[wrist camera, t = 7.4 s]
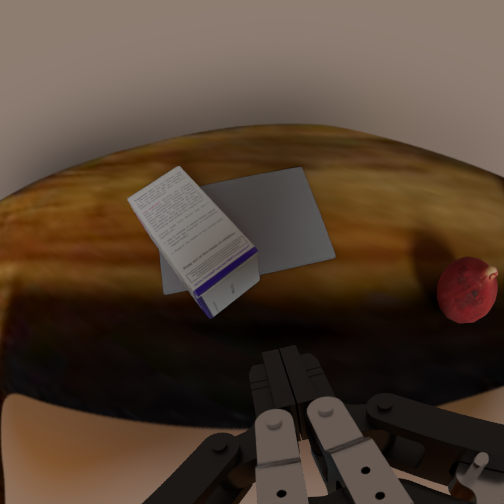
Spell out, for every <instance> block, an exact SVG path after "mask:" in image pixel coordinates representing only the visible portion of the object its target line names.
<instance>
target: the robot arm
mask: <svg viewBox="0 0 504 504" xmlns="http://www.w3.org/2000/svg"><path fill="white" fill-rule="evenodd" d="M279 353H280V354H279ZM262 356H263V361H264V364H260V365H255V366H252V368H251V371H250V373H249V377H250V383H251V389H252V395H253V401H254V406H255V412H256V420H255V423H254V424H253V426H252V427H251V428H250V429H249V430H247V431H246V432H244V433H242V434H240V435H237V436H233V435H232V434H229V433H216V434H213V435H211V436H209V437H208V438H206V439H205V440H204V441H203V442H202V443H201V444H200V445H199V446H198V448H197V449H196V450H195V451H194V452H193V453H192V454H191V455H190V456H189V457H188V458H187V459H186V460H185V461H184V462H183V463H182V465H180V467H179V468H178V469H177V470H176V471H175V472H174V473H173V474H172V475H171V476H170V477H169V478H168V479H167V480H166V481H165V482H164V483H163V484H162V485H161V486H160V487H159V488H158V489H157V490H156V491H155V492H154V493H153V494H152V495H151V496H149V498H147V499H146V500H145V501H144V502H143V503H142V504H239V503H240V501H241V500H242V499H243V497H244V496H245V495H246V494H247V492H248V491H249V489H250V488H251V487H252V484H253V483H254V482H256V490H257V504H504V425H503V424H498V423H494V422H490V421H486V420H482V419H477V418H473V417H470V416H466V415H461V414H458V413H455V412H451V411H447V410H443V409H440V408H437V407H433V406H430V405H426V404H423V403H420V402H416V401H413V400H410V399H407V398H404V397H400V396H397V395H394V394H391V393H381V394H377V395H375V396H373V397H372V398H371V399H370V400H369V401H368V402H367V404H363V405H348V404H345V403H342V402H341V401H340V400H339V399H337V398H336V397H335V395H334V393H333V391H332V389H331V387H330V385H329V383H328V381H327V378H326V376H325V374H324V372H323V370H322V368H321V366H320V364H319V362H318V360H317V358H315V357H314V356H313V355H311V354H310V353H307V354H303V355H299V353H298V350H297V348H296V346H295V345H293V346H289V347H285V348H280V349H279V351H278V349H276V350H272V351H267V352H262ZM300 434H301V437H302V440H306V439H309V442H310V446H311V453H312V456H313V458H314V461H315V463H316V465H317V467H318V469H319V472H320V474H321V476H322V479H323V481H324V483H325V485H326V488H327V491H328V495H326V496H321V497H307V492H306V487H305V480H304V475H303V469H302V464H301V459H300V455H299V454H300V451H299V444H298V441H301V439H300ZM391 467H393V468H395V469H398V470H401V471H404V472H406V473H409V474H412V475H415V476H418V477H420V478H423V479H427V480H429V481H433V482H436V483H439V484H442V485H445V486H448V489H449V493H450V494H451V495H448V494H445V493H442V492H439V491H436V490H433V489H431V488H428V487H426V486H423V485H420V484H418V483H415V482H413V481H410V480H406V479H400V478H397V477H396V475H395V473H394V472H393V470H392V469H391Z"/></svg>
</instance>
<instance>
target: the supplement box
mask: <svg viewBox="0 0 504 504" xmlns="http://www.w3.org/2000/svg"><path fill="white" fill-rule="evenodd" d="M128 201H129V203H130V205H131V207H132V209H133V210H134V212H135V214H136V216H137V217H138V219H139V221H140V222H141V224H142V225H143V227H144V229H145V230H146V232H147V233H148V234H149V236H150V237H151V239H152V240H153V242H154V243H155V245H156V246H157V247H158V249H159V250H160V252H161V253H162V255H163V256H164V257H165V259H166V260H167V262H168V263H169V265H170V266H171V267H172V269H173V270H174V272H175V273H176V275H177V276H178V277H179V279H180V280H181V282H182V283H183V284H184V286H185V287H186V288H187V290H188V291H189V293H190V294H191V295H192V297H193V298H194V299H195V301H196V302H197V303H198V305H199V306H200V307H201V309H202V310H203V311H204V312H205V314H206V315H207V316H208V317H209V318H210V319H211V318H213V317H214V316H215V315H216V314H218V313H219V312H220V311H222V310H223V309H224V308H225V307H227V306H228V305H229V304H230V303H232V302H233V301H234V300H235V299H237V298H238V297H239V296H241V295H242V294H243V293H244V292H246V291H247V290H248V289H250V288H251V287H252V286H253V285H255V284H256V283H257V282H258V281H259V280H260V276H259V265H258V255H259V254H258V253H259V251H258V249H257V248H256V247H255V246H254V245H253V244H252V243H251V242H250V241H249V239H248V238H247V237H246V236H245V235H244V234H243V233H242V232H241V231H240V230H239V229H238V228H237V227H236V226H235V224H234V223H233V222H232V221H231V220H230V219H229V218H228V217H227V216H226V215H225V214H224V213H223V212H222V210H221V209H220V208H219V207H218V206H217V205H216V204H215V203H214V202H213V201H212V200H211V199H210V198H209V197H208V196H207V195H206V193H205V192H204V191H203V190H202V189H201V188H200V187H199V186H198V185H197V184H196V183H195V182H194V181H193V180H192V179H191V177H190V176H189V175H188V174H187V173H186V172H185V171H184V170H183V169H182V168H181V167H180V166H177V167H176V168H174V169H172V170H171V171H169V172H168V173H166V174H165V175H163V176H162V177H160V178H159V179H157V180H156V181H154V182H152V183H151V184H149V185H148V186H146V187H145V188H143V189H141V190H140V191H138V192H137V193H135V194H134V195H132V196H130V197H129V198H128Z"/></svg>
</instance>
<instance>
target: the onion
mask: <svg viewBox="0 0 504 504" xmlns="http://www.w3.org/2000/svg"><path fill="white" fill-rule="evenodd" d="M497 275H498V271H497V268H496V267H493V266H491V265H490V266H489V265H488V264H487V263H485V262H484V261H482V260H480V259H478V258H473V257H463V258H460V259H458V260H455V261H453V262H452V263H450V264H449V265H448V266H447V268H446V269H445V270H444V271H443V273H442V274H441V276H440V279H439V281H438V285H437V300H438V303H439V307H440V309H441V310H442V312H443V313H444V314H445V316H446V317H447V318H449V319H451V320H453V321H455V322H457V323H471V322H475V321H476V320H478V319H480V318H481V317H483V316H485V315H486V314H487V313H488V312H489V310H490V309H491V307H492V305H493V304H494V302H495V299H496V295H497V289H498V285H497V280H496V276H497Z"/></svg>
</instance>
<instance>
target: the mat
mask: <svg viewBox="0 0 504 504" xmlns="http://www.w3.org/2000/svg"><path fill="white" fill-rule="evenodd" d="M199 187H200V188H201V189H202V190H203V191H204V192H205V193H206V195H207V196H208V197H209V198H210V199H211V200H212V201H213V202H214V203H215V204H216V205H217V206H218V207H219V208H220V209H221V210H222V212H223V213H224V214H225V215H226V216H227V217H228V218H229V219H230V220H231V221H232V222H233V223H234V224H235V226H236V227H237V228H238V229H239V230H240V231H241V232H242V233H243V234H244V235H245V236H246V237H247V238H248V239H249V241H250V242H251V243H252V244H253V245H254V246H255V247H256V248H257V249H258V251H259V253H258V254H259V255H258V265H259V275H262V274H266V273H271V272H276V271H280V270H285V269H289V268H293V267H298V266H302V265H307V264H311V263H315V262H320V261H324V260H329V259H333V258H335V256H336V255H335V253H334V250H333V247H332V244H331V242H330V239H329V236H328V233H327V231H326V228H325V225H324V223H323V220H322V217H321V215H320V212H319V209H318V207H317V204H316V202H315V199H314V197H313V194H312V192H311V189H310V187H309V184H308V182H307V179H306V177H305V174H304V172H303V169H302V167H297V168H291V169H285V170H280V171H274V172H268V173H263V174H258V175H252V176H247V177H242V178H237V179H232V180H227V181H222V182H218V183H213V184H208V185H204V186H199ZM159 252H160V250H159ZM160 263H161V273H162V283H163V292H164V294H165V295H167V294H172V293H177V292H182V291H187V288H186V287H185V286H184V284H183V283H182V282H181V280H180V279H179V277H178V276H177V275H176V273H175V272H174V270H173V269H172V267H171V266H170V265H169V263H168V262H167V260H166V259H165V257H164V256H163V255H162V253H161V252H160Z"/></svg>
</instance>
